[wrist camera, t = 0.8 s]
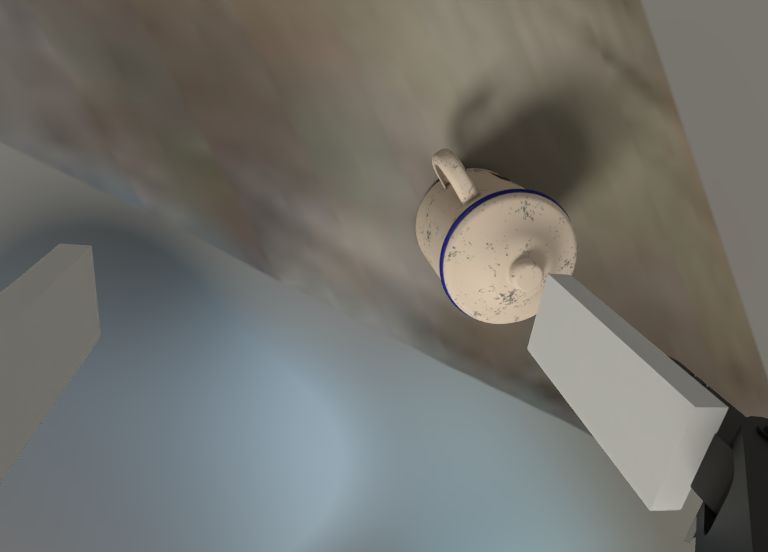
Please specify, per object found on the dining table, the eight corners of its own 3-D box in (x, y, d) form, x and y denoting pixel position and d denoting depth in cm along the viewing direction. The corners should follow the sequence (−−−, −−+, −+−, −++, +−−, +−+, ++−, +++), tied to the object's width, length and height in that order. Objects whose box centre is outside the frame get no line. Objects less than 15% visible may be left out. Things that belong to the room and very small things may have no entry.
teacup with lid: (540, 235, 42) (623, 294, 32) (446, 295, 43) (496, 372, 32) (475, 105, 37) (547, 123, 27) (369, 174, 38) (399, 218, 27)
